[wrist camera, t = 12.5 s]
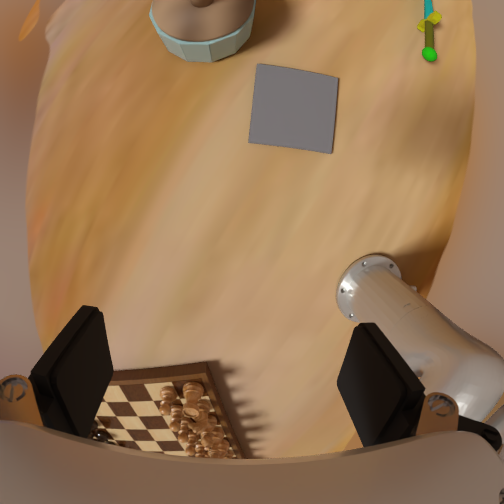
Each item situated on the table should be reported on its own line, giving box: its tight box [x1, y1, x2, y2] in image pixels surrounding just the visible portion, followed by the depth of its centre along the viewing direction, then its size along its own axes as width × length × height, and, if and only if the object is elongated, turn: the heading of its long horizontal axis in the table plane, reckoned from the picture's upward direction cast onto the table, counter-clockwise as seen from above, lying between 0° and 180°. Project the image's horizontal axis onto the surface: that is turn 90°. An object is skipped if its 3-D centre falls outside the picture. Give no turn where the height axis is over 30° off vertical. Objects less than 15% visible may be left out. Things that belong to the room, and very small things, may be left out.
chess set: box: [87, 362, 246, 459], centre depth 50 cm, size 40×40×15 cm
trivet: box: [248, 64, 338, 154], centre depth 37 cm, size 12×12×1 cm
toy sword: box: [417, 0, 442, 61], centre depth 29 cm, size 3×6×30 cm
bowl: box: [149, 0, 256, 62], centre depth 29 cm, size 13×13×8 cm
